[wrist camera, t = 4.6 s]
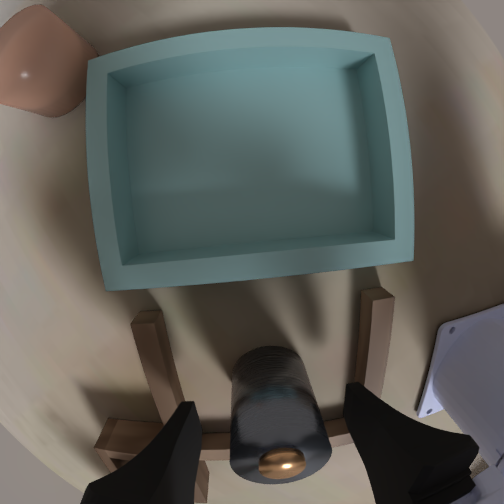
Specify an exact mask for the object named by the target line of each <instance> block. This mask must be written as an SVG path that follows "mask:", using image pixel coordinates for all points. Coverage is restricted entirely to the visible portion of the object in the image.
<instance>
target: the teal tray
mask: <svg viewBox="0 0 504 504" xmlns="http://www.w3.org/2000/svg"><path fill="white" fill-rule="evenodd" d="M86 153H87V169H88V182H89V193H90V202H91V210H92V218H93V225H94V232H95V238H96V244H97V250H98V255H99V261H100V266H101V271H102V276H103V280H104V285H105V289H106V291H117V290H132V289H147V288H161V287H174V286H186V285H198V284H210V283H221V282H232V281H243V280H253V279H264V278H273V277H283V276H293V275H302V274H311V273H320V272H328V271H337V270H345V269H354V268H362V267H370V266H378V265H385V264H393V263H400V262H408V261H413V259H414V190H413V172H412V160H411V149H410V140H409V132H408V124H407V118H406V111H405V105H404V99H403V94H402V88H401V83H400V79H399V74H398V70H397V65H396V61H395V57H394V53H393V49H392V45H391V42H390V38H386V37H381V36H376V35H370V34H363V33H356V32H349V31H340V30H330V29H317V28H296V27H263V28H242V29H229V30H219V31H210V32H203V33H196V34H189V35H183V36H177V37H172V38H167V39H162V40H158V41H153V42H149V43H145V44H141V45H137V46H133V47H129V48H126V49H122V50H119V51H115V52H112V53H109V54H106V55H103V56H100V57H97V58H94V59H91V60H88V69H87V85H86Z"/></svg>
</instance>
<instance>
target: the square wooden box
mask: <svg viewBox="0 0 504 504" xmlns="http://www.w3.org/2000/svg"><path fill="white" fill-rule="evenodd" d="M163 426H164V425H163V423H155V422H140V421H129V420H119V419H110V418H108V420H107V422H106V424H105V426H104V428H103V430H102V432H101V434H100V436H99V438H98V440H97V442H96V444H95V446H94V449H95V450H96V452H97V453H98V455H99V456H100V458H101V459H102V461H103V462H104V464H105V465H106V467H107V468H108V469H109V471H110V472H111V473H112V472H114V471H115V470H117V469H119V468H120V467H122V466H123V465H125V464H126V463H127V462H129V461H130V460H131V459H133V458H134V457H135V456H136V455H137V454H139V453H140V452H141V451H142V450H143V449H144V448H145V447H146V446H147V445H148V444H149V443H150V442H151V441H152V440H153V439H154V437H155V436H156V435H157V434H158V433H159V432H160V430H161V429H162V428H163ZM208 482H209V471H208V468H207V465H206V463H205V460H199V465H198V470H197V476H196V482H195V492H194V502H195V503H207V495H208Z"/></svg>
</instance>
